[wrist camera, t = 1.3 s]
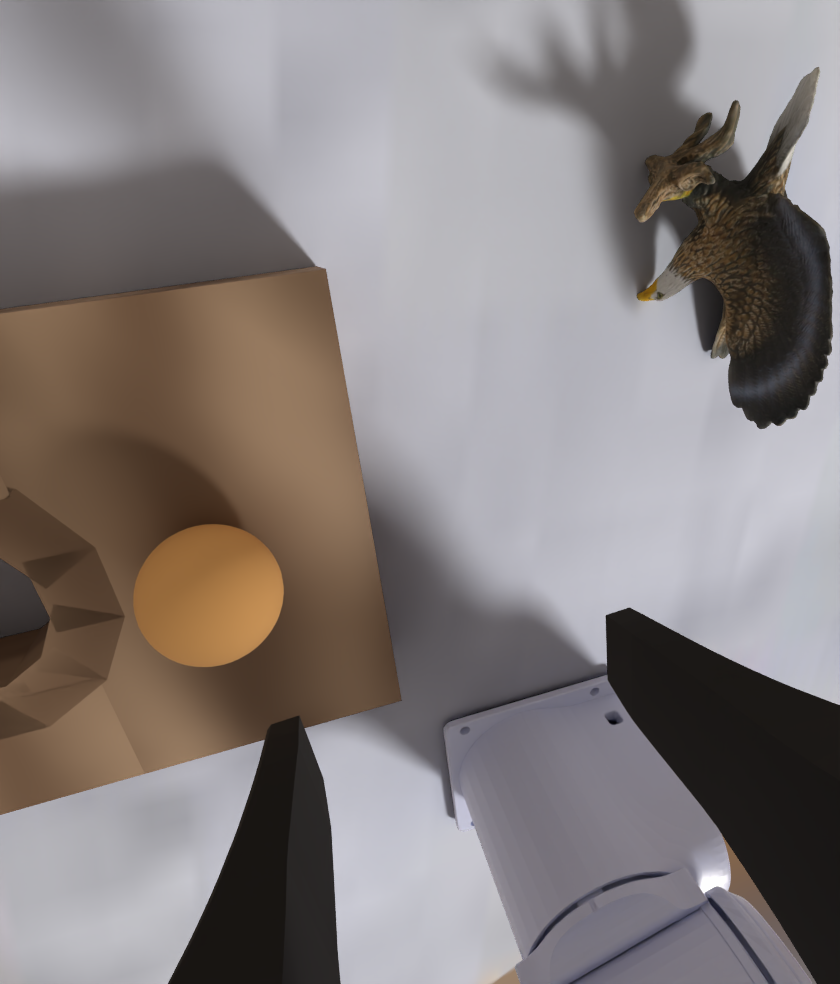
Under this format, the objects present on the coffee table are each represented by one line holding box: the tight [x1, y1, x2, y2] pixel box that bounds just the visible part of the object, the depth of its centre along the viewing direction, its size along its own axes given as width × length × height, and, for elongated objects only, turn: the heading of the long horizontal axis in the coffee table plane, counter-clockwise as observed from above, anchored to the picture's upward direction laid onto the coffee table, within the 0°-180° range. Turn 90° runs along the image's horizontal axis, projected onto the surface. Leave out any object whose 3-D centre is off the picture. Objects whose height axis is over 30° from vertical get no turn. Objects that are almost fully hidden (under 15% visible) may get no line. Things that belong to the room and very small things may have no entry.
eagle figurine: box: [634, 67, 833, 429], centre depth 18 cm, size 8×7×9 cm
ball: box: [133, 524, 284, 667], centre depth 16 cm, size 4×4×4 cm
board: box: [0, 266, 402, 815], centre depth 18 cm, size 18×16×3 cm
